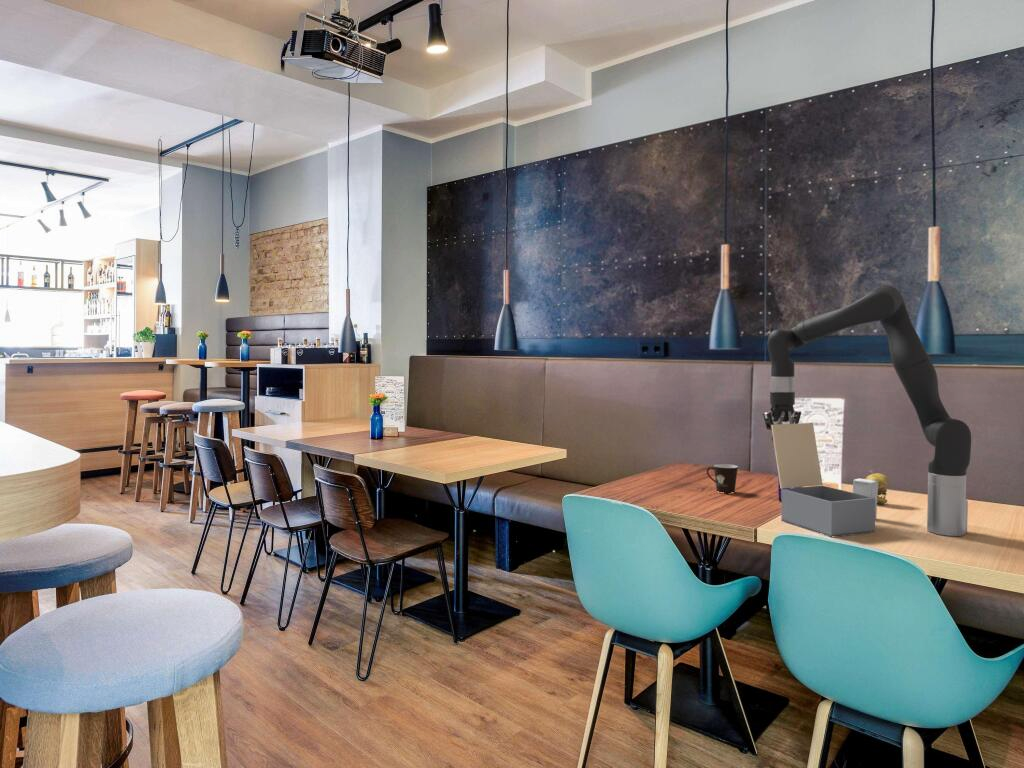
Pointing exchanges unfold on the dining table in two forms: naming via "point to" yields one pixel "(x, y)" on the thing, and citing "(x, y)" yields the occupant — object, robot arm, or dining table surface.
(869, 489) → the skincare box
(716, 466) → the coffee mug
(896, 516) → the dining table surface
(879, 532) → the dining table surface
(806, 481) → the carton flap
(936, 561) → the dining table surface
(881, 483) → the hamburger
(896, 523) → the dining table surface
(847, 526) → the carton
